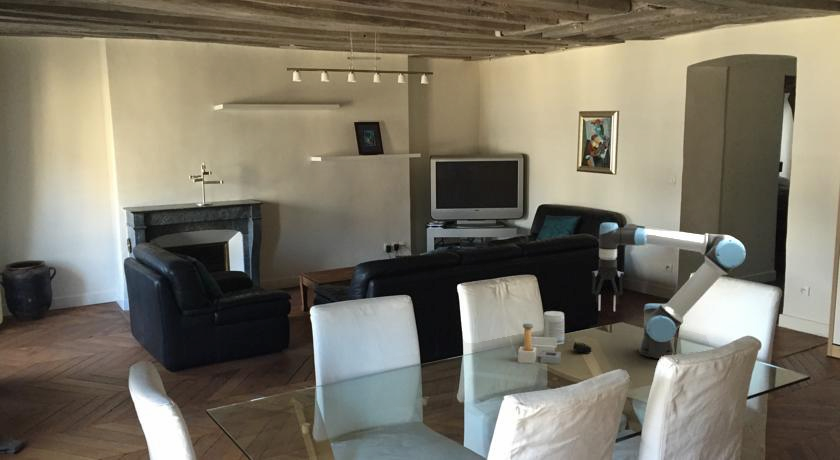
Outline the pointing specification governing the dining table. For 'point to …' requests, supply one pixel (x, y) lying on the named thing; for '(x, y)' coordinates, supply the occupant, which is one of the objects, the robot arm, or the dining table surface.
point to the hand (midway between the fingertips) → (606, 310)
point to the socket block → (527, 355)
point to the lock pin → (527, 336)
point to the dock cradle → (543, 344)
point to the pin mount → (551, 357)
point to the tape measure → (582, 347)
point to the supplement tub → (554, 325)
